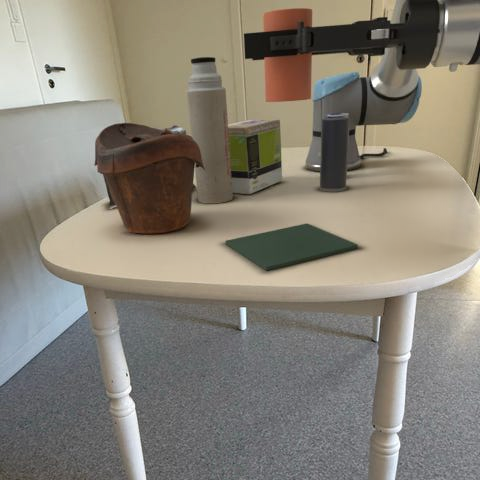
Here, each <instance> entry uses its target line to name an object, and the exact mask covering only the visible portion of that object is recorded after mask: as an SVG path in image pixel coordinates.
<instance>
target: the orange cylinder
mask: <svg viewBox="0 0 480 480" xmlns="http://www.w3.org/2000/svg"><path fill="white" fill-rule="evenodd" d="M297 22H304V27H306V26H310V27H313V9H311V8H307V7H303V8H302V7H297V8H296V7H295V8H294V7H293V8H282V9H275V10H270V11H266V12H264V13H262V25H263V26H262V27H263V28H262V29H263V32H267V31H279V30H291V29H297ZM312 60H313V55H312V53H309V54H302V55H300V53H297V55H293V56H279V57H266V58H264V60H263V61H264V64H263V65H264V92H265V93H264V94H265V103H279V102H280V103H281V102H283V103H284V102H298V101H307V100H312V71H313V70H312V69H313V68H312V65H313V64H312Z"/></svg>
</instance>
